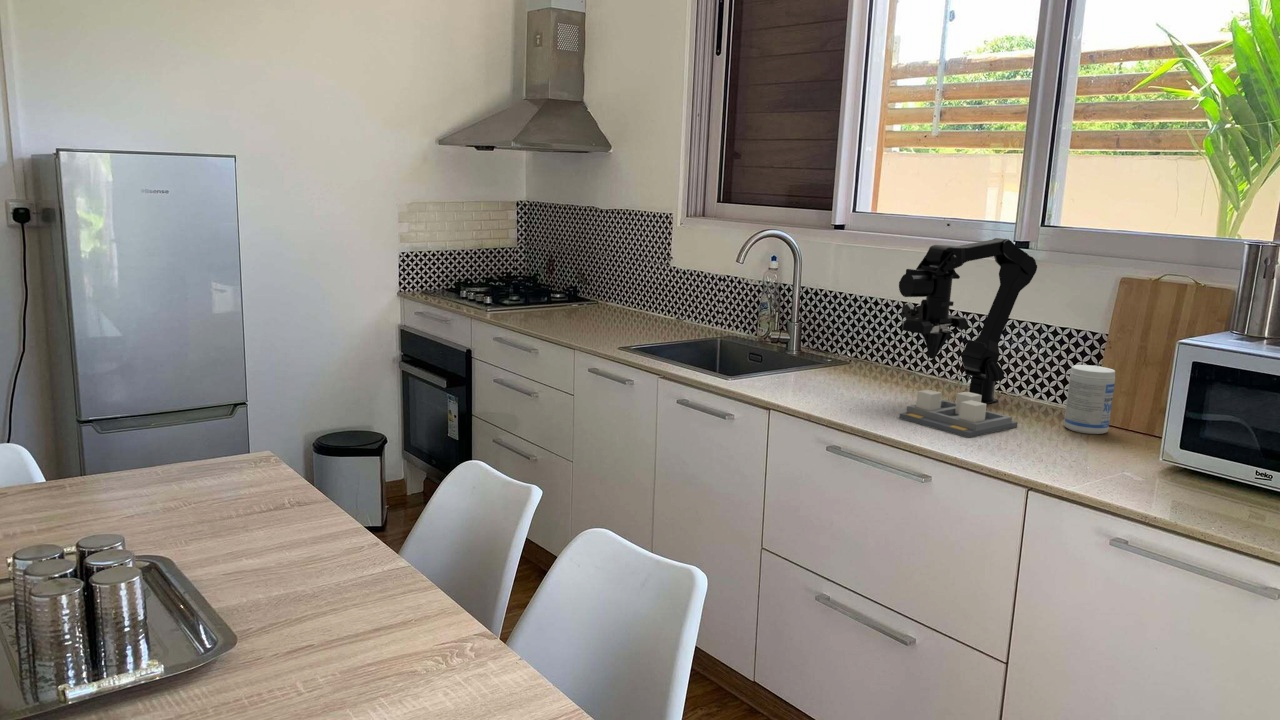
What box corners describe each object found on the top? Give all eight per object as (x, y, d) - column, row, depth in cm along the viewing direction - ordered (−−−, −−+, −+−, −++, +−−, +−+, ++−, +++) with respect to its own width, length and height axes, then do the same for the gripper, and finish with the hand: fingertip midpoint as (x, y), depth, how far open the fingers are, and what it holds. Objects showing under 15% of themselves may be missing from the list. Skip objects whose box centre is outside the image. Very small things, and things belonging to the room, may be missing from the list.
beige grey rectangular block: (925, 409, 229) (928, 389, 228) (939, 413, 226) (942, 392, 225) (915, 411, 226) (917, 391, 226) (929, 415, 223) (931, 394, 222)
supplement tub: (1110, 437, 216) (1119, 374, 213) (1065, 432, 219) (1074, 370, 216) (1104, 427, 225) (1112, 366, 222) (1061, 422, 228) (1068, 362, 225)
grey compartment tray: (948, 409, 237) (949, 398, 236) (1017, 427, 222) (1018, 415, 221) (899, 418, 226) (900, 407, 225) (968, 437, 211) (969, 426, 210)
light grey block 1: (965, 411, 228) (967, 391, 227) (979, 415, 225) (981, 395, 224) (954, 413, 226) (957, 393, 225) (969, 417, 223) (971, 396, 222)
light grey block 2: (968, 421, 219) (971, 400, 218) (984, 425, 216) (986, 403, 215) (958, 423, 217) (960, 402, 216) (973, 427, 214) (976, 405, 213)
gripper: (934, 291, 247) (928, 350, 250) (887, 294, 236) (882, 355, 239) (971, 296, 238) (964, 357, 241) (925, 299, 227) (918, 363, 230)
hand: (932, 358), depth 238 cm, fingers closed
